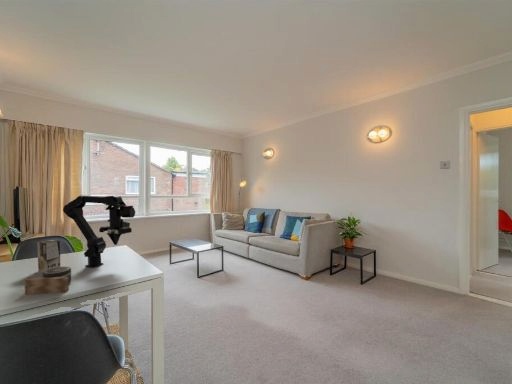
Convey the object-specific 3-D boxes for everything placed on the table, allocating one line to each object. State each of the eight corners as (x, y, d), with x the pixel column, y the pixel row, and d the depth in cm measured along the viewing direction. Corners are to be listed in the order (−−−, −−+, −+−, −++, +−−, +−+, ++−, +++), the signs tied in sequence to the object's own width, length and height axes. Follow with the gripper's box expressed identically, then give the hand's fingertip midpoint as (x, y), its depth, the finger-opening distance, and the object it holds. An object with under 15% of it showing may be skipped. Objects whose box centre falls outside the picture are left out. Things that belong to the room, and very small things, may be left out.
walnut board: (25, 293, 100) (24, 279, 100) (29, 291, 102) (28, 278, 102) (65, 292, 102) (65, 278, 102) (68, 290, 104) (68, 276, 104)
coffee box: (61, 269, 129) (60, 240, 129) (46, 273, 124) (46, 243, 123) (52, 267, 133) (51, 239, 133) (37, 271, 127) (36, 241, 127)
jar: (74, 285, 109) (74, 268, 109) (46, 293, 101) (45, 275, 101) (67, 280, 115) (67, 264, 115) (40, 287, 107) (39, 270, 107)
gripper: (139, 216, 140) (139, 242, 140) (115, 215, 146) (116, 240, 147) (122, 219, 129) (123, 247, 130) (98, 217, 136) (98, 244, 136)
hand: (115, 244), depth 136 cm, fingers closed
